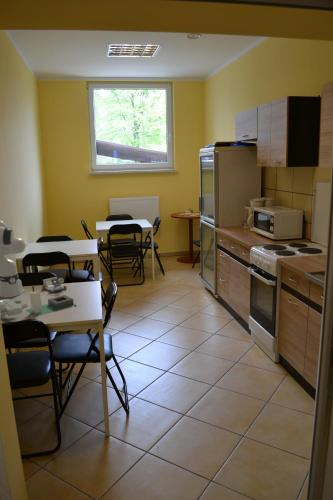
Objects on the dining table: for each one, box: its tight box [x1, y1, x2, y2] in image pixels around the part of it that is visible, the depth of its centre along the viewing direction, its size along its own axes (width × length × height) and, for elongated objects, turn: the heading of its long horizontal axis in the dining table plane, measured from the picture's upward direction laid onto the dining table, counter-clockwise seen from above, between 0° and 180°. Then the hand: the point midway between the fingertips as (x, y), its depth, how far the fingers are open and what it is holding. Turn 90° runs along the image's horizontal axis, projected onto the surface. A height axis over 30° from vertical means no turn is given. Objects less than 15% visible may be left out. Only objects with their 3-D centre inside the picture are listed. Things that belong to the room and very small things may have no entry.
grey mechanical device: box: [42, 276, 68, 294], centre depth 280 cm, size 18×10×12 cm
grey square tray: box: [47, 294, 75, 309], centre depth 247 cm, size 11×11×4 cm
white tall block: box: [29, 285, 42, 313], centre depth 236 cm, size 4×4×16 cm
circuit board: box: [25, 303, 77, 317], centre depth 243 cm, size 15×26×1 cm, turn 131°
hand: (23, 303), depth 232 cm, fingers open, 8 cm apart
